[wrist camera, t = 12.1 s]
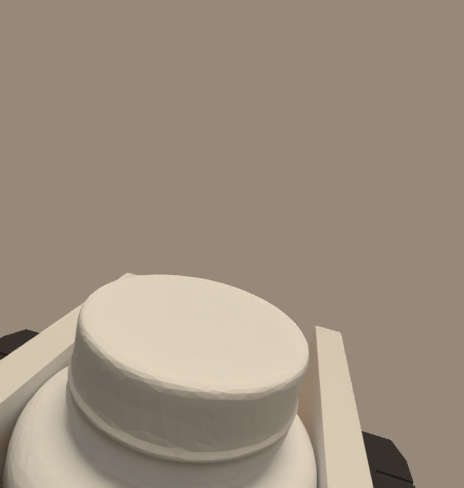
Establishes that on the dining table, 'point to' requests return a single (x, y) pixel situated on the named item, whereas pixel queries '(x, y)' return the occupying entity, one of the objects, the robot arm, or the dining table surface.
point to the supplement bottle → (170, 395)
